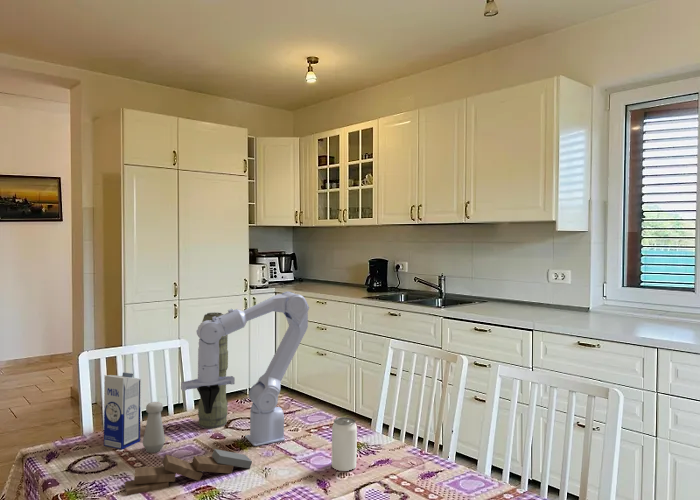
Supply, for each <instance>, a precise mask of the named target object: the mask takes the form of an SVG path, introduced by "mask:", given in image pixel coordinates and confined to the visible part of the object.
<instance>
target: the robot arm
mask: <svg viewBox="0 0 700 500" xmlns="http://www.w3.org/2000/svg"><path fill="white" fill-rule="evenodd" d="M309 309H310V306H309V305H308V301H307V299H306V298H305V296H304V295H302V294H299V293H294V292H292V291H284V292H282V293H278V294H275V295H273V296H271V297H268V298H267V299H265V300H263V301H260V302H258V303H257V304H254V305H251V306H250V307H248V308H246V309H243V310H240V309H238V308H235V309H233V308H230V309H228V310H227V312H226V313H222V314H223V315H221V316H219V317H212V319H213V321H211V320H210V321H209V320H206V321H203V320H202V321H203V322H202V321H201V322H200V324H199V325H198V327H197V329H196V335H197V336H198V338H199V339H198V348H197V378H195V379H190V380H186V381H181V382H180V390H181V391H183V392H184V391H188V390H192V389H193V390H194V389H196V390H197V392H198V394H199V397H200V396H201V399H202V402H203V406H204V412H205V413H206V414H209V413H211V411H212V407H213V403H214V401H215V398H216V396H217V394H218V393H219V390H220V388H219V387H218V386H219V385H226V386H228V385H235V377H234V376H232V375H230V376H227V375H226V377H219V340H220V339H221V337H222V336H225V335H230V334H232V333H235V332H237V331H238V330H242V329H243V328H245V327H246V324H247V323H248V322H249V321H251V320H252V321H253V320H255V319H256V318H260V317H262V316H263V315H266V314H269V313H272V312H274V313H283V315H284V316H285V318H286V321H287V323H288V327H287V330H286V331H285V333H284V335H283V337H282V339H281V341H280V343H279V345H278V347H277V349H276V351H275V352H274V355H273V357H272V358H271V361H270V362H269V365H267V368H266V371H265V372H264V374H262V375H261V376H260V377H259V378H258V380H257V381H256V383H254V384H253V385H252V386H251V387H250V389H249V392H248V398H249V399H250V401H251V402H252V404H251V406H250V412H249V413H250V414H249V415H250V417H249V418H250V421H249V423H250V424H249V428H250V429H249V434H247V435H245V439H247V440H248V442H249V443H251V444H252V446H253V447H257V446H263V445H268V444H273V443H274V444H275V443H277V442H283V441H285V440H286V438H285V415H284V410H283V409H282V407H280V406H277V405H278V402H279V400H278V399H279V394H280V392H281V383H282V380H283V378H284V376H285V374H286V372H287V370H288V368H289V366H290V364H291V362H292V360H293V358H294V356H295V354H296V352H297V350H298V348H299V346H300V345H301V342H302V340H303V338H304V337H305V334H306V332H307V330H308V328H309V322H308V321H309Z"/></svg>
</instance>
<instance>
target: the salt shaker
mask: <svg viewBox="0 0 700 500" xmlns="http://www.w3.org/2000/svg"><path fill="white" fill-rule="evenodd" d="M163 409H164V406H163V403H162V402H160V401H152V402H149V403H147V404H146V408H145V411H146V413H147V419H146V424H145V429H144V430H145V431H144V433H143V434H144V435H143V439H142V446H143V448H144V449H145V451H146V453H149V454H150V453H151V454H154V453H158V452H161V451H162V449H163V447H164V445H165V443H166V438H165V437H166V436H165V432H164V424H163V420H162V419H163V418H162V414H161V413H162V411H163Z"/></svg>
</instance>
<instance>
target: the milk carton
mask: <svg viewBox="0 0 700 500" xmlns="http://www.w3.org/2000/svg"><path fill="white" fill-rule="evenodd" d="M133 376H134V373H132V372H122V375H115V374H114V375H113V374H108V375H107V374H106V375H104V382H103V383H104V388H103V389H104V391H103V392H104V395H103V396H104V397H103V399H104V400H103V402H104V403H103V446H104V447H109V448H114V449H118V450H124V449H126V448H128V447H131V446H133V445H135V444H137V443H139V442H141V411H142V410H141V408H142V407H141V405H142V404H141V403H142V401H141V398H142V397H141V396H142V386H141V385H142V378H138V377H133Z"/></svg>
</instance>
